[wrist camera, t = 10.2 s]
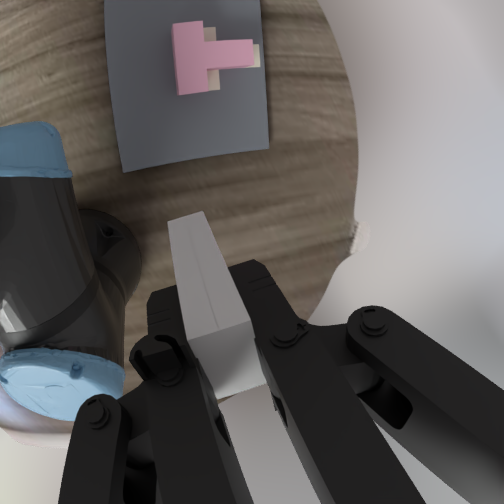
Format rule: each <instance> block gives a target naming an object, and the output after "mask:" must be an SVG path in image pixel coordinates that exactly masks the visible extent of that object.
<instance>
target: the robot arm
mask: <svg viewBox="0 0 504 504" xmlns="http://www.w3.org/2000/svg"><path fill="white" fill-rule="evenodd" d="M71 177H73V176H72V172H71V170H69V169H68V165H67V161H66V158H65V154H64V149H63V145H62V140H61V137H60V134H59V132H58V131H57V129H56V128H55V127H54V126H53V125H51V124H49V123H47V122H42V121H34V122H26V123H19V124H13V125H8V126H3V127H0V346H1V347H2V350H3V355H2V356H1V359H0V383H1V385H2V387H3V388H4V390H5V391H6V392H7V394H8V395H9V396H10V397H11V398H13V399H14V400H15V401H16V402H18V403H19V404H21V405H22V406H24V407H26V408H28V409H29V410H31V411H34V412H36V413H38V414H41V415H44V416H48V417H51V418H55V419H60V420H67V421H75V422H74V426H73V430H72V434H71V439H70V443H69V447H68V452H67V457H66V462H65V466H64V472H63V477H62V482H61V488H60V494H59V501H58V504H254V503H253V500H252V497H251V495H250V492H249V489H248V487H247V484H246V481H245V478H244V476H243V473H242V471H241V467H240V464H239V462H238V459H237V456H236V453H235V450H234V447H233V444H232V441H231V438H230V435H229V432H228V429H227V426H226V423H225V420H224V416H223V414H222V413H221V411H220V409H219V407H218V404H217V400H216V398H217V399H220V398H223V397H227V396H230V395H233V394H236V393H239V392H242V391H245V390H248V389H251V388H254V387H257V386H260V385H262V384H265V383H266V382H267V383H268V386H269V388H270V391H271V395H272V399H273V403H274V407H275V411H276V410H278V413H279V415H280V417H281V419H282V422H283V424H284V426H285V428H286V430H287V433H288V435H289V437H290V439H291V441H292V443H293V446H294V448H295V450H296V452H297V454H298V457H299V459H300V461H301V463H302V465H303V467H304V469H305V471H306V474H307V476H308V478H309V480H310V482H311V484H312V486H313V488H314V490H315V492H316V494H317V496H318V498H319V500H320V502H321V504H426V503H425V501H424V500H423V498H422V497H421V495H420V493H419V492H418V490H417V488H416V487H415V485H414V484H413V482H412V481H411V479H410V477H409V476H408V474H407V473H406V471H405V469H404V468H403V466H402V465H401V463H400V462H399V460H398V458H397V457H396V455H395V454H394V452H393V451H392V449H391V448H390V446H389V444H388V443H387V441H386V440H385V438H384V437H383V435H382V433H381V432H380V430H379V429H378V427H377V426H376V424H375V423H374V421H375V422H376V423H377V424H378V425H379V426H380V427H382V428H383V429H384V430H385V431H386V432H387V433H388V434H389V435H390V436H391V437H393V438H394V439H395V440H396V441H397V442H398V443H399V444H400V445H402V446H403V447H404V448H405V449H406V450H407V451H408V452H409V453H411V454H412V455H413V456H414V457H415V458H416V459H418V460H419V461H420V462H421V463H422V464H423V465H424V466H426V467H427V468H428V469H429V470H430V471H432V472H433V473H434V474H435V475H436V476H437V477H439V478H440V479H441V480H442V481H443V482H444V483H446V484H447V485H448V486H449V487H451V488H452V489H453V490H454V491H456V492H457V493H458V494H459V495H460V496H462V497H463V498H464V499H465V500H466V501H468V502H469V503H470V504H504V390H502V389H501V388H500V387H498V386H497V385H496V384H494V383H493V382H491V381H490V380H489V379H488V378H486V377H485V376H483V375H482V374H480V373H479V372H478V371H476V370H475V369H474V368H472V367H471V366H469V365H468V364H467V363H465V362H464V361H462V360H461V359H460V358H458V357H457V356H456V355H454V354H452V353H451V352H450V351H448V350H447V349H446V348H444V347H443V346H441V345H440V344H438V343H437V342H435V341H434V340H433V339H431V338H430V337H428V336H427V335H426V334H424V333H422V332H421V331H420V330H418V329H417V328H415V327H414V326H412V325H411V324H410V323H408V322H406V321H405V320H404V319H402V318H401V317H399V316H398V315H396V314H395V313H393V312H392V311H390V310H388V309H386V308H384V307H380V306H365V307H361V308H360V309H357V310H355V311H354V312H353V313H352V314H351V316H349V318H348V322H347V323H346V324H339V325H331V326H316V325H311V324H309V323H308V322H307V321H306V320H303V319H301V318H299V317H298V316H297V315H296V314H295V312H294V311H293V309H292V308H291V306H290V304H289V303H288V301H287V300H286V298H285V297H284V295H283V293H282V292H281V290H280V289H279V287H278V286H277V285H276V282H275V281H274V279H273V278H272V277H271V275H270V273H269V271H268V270H267V268H266V267H265V265H263V264H261V263H259V262H258V261H256V260H254V259H253V260H249V261H246V262H243V263H240V264H237V265H234V266H231V267H227V266H226V263H225V261H224V259H223V256H222V254H221V252H220V250H219V247H218V245H217V243H216V240H215V238H214V236H213V233H212V231H211V229H210V226H209V224H208V222H207V219H206V217H205V215H204V212H203V211H201V212H197V213H194V214H191V215H187V216H184V217H181V218H178V219H174V220H171V221H168V222H167V223H168V230H169V238H170V245H171V252H172V258H173V265H174V271H175V277H176V283H177V285H174V286H170V287H167V288H164V289H161V290H158V291H154V292H152V293H151V295H150V297H149V300H148V302H147V324H148V335H146V336H144V337H143V338H141V339H140V340H139V341H138V342H137V343H136V344H135V345H134V347H133V348H132V350H131V352H130V357H129V361H130V363H131V364H132V366H133V367H134V368H135V370H136V371H137V372H138V374H139V375H140V376H141V378H142V379H143V380H144V381H143V382H142V383H141V384H140V385H139V386H138V387H137V388H135V389H134V390H132V391H131V392H129V393H127V394H125V395H124V396H122V395H123V383H124V380H125V372H124V322H125V306H126V304H127V303H128V301H129V299H130V298H131V296H132V295H133V293H134V292H135V290H136V288H137V286H138V283H139V279H140V274H141V255H140V250H139V247H138V244H137V242H136V240H135V238H134V236H133V235H132V233H131V232H130V231H129V230H128V229H127V227H126V226H125V225H123V224H122V223H121V222H120V221H119V220H117V219H116V218H114V217H112V216H110V215H108V214H106V213H103V212H100V211H96V210H88V209H83V210H78V207H77V202H76V198H75V194H74V189H73V185H72V180H71ZM215 396H216V397H215ZM373 420H374V421H373Z"/></svg>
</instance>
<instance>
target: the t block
mask: <svg viewBox="0 0 504 504" xmlns="http://www.w3.org/2000/svg"><path fill="white" fill-rule="evenodd" d="M171 35H172V47H173V59H174V69H175V79H176V89H177V95H185V94H191V93H199V92H207V91H209V89H208V78H207V71H210V70H220V69H232V68H245V67H249V66H253V65H254V53H253V40H252V39H243V40H222V41H209V42H204V31H203V21H193V22H184V23H175V24H173V25H172V30H171Z"/></svg>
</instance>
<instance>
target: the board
mask: <svg viewBox="0 0 504 504" xmlns="http://www.w3.org/2000/svg"><path fill="white" fill-rule="evenodd" d="M193 21H203V31H204V42H209V41H222V40H243V39H252V40H253V53H254V65H253V66H249V67H245V68H232V69H220V70H210V71H207V78H208V89H209V91H207V92H199V93H191V94H185V95H177V89H176V79H175V69H174V59H173V47H172V35H171V30H172V25H173V24H175V23H184V22H193ZM104 22H105V41H106V55H107V66H108V76H109V86H110V94H111V102H112V109H113V116H114V123H115V129H116V136H117V141H118V147H119V153H120V158H121V163H122V169H123V173H126V172H130V171H135V170H139V169H144V168H149V167H153V166H158V165H164V164H169V163H174V162H179V161H185V160H191V159H197V158H203V157H209V156H216V155H222V154H229V153H237V152H244V151H252V150H261V149H269V137H268V118H267V100H266V83H265V67H264V52H263V37H262V24H261V11H260V0H104Z"/></svg>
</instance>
